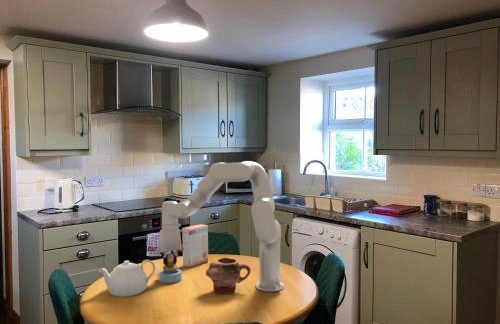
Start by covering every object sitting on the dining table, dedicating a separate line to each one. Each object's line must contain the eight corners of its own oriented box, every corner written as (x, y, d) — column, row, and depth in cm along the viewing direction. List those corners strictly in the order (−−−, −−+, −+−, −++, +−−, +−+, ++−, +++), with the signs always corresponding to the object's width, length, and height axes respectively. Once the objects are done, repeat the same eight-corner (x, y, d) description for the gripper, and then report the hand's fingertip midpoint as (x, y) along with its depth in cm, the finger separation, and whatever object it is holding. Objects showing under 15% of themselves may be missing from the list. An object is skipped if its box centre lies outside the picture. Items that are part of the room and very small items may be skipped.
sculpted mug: (247, 284, 198) (247, 255, 197) (253, 294, 186) (253, 262, 185) (204, 287, 194) (204, 257, 193) (207, 297, 182) (207, 265, 181)
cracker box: (200, 260, 238) (200, 223, 237) (208, 262, 235) (208, 224, 234) (182, 265, 228) (181, 227, 227) (189, 268, 224) (189, 228, 223)
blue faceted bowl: (184, 281, 202) (184, 273, 202) (162, 284, 197) (162, 276, 197) (177, 275, 211) (177, 267, 211) (156, 278, 207) (156, 270, 206)
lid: (178, 269, 203) (178, 255, 202) (165, 271, 200) (165, 256, 199) (174, 266, 208) (174, 251, 208) (161, 268, 205) (161, 253, 205)
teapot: (137, 300, 178) (137, 268, 178) (98, 296, 182) (97, 265, 181) (156, 285, 197) (156, 256, 196) (119, 282, 200) (119, 254, 200)
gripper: (184, 224, 210) (184, 260, 211) (150, 226, 203) (150, 264, 204) (189, 227, 204) (188, 264, 204) (154, 229, 196) (154, 269, 197)
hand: (169, 264), depth 204 cm, fingers closed on lid, 3 cm apart
